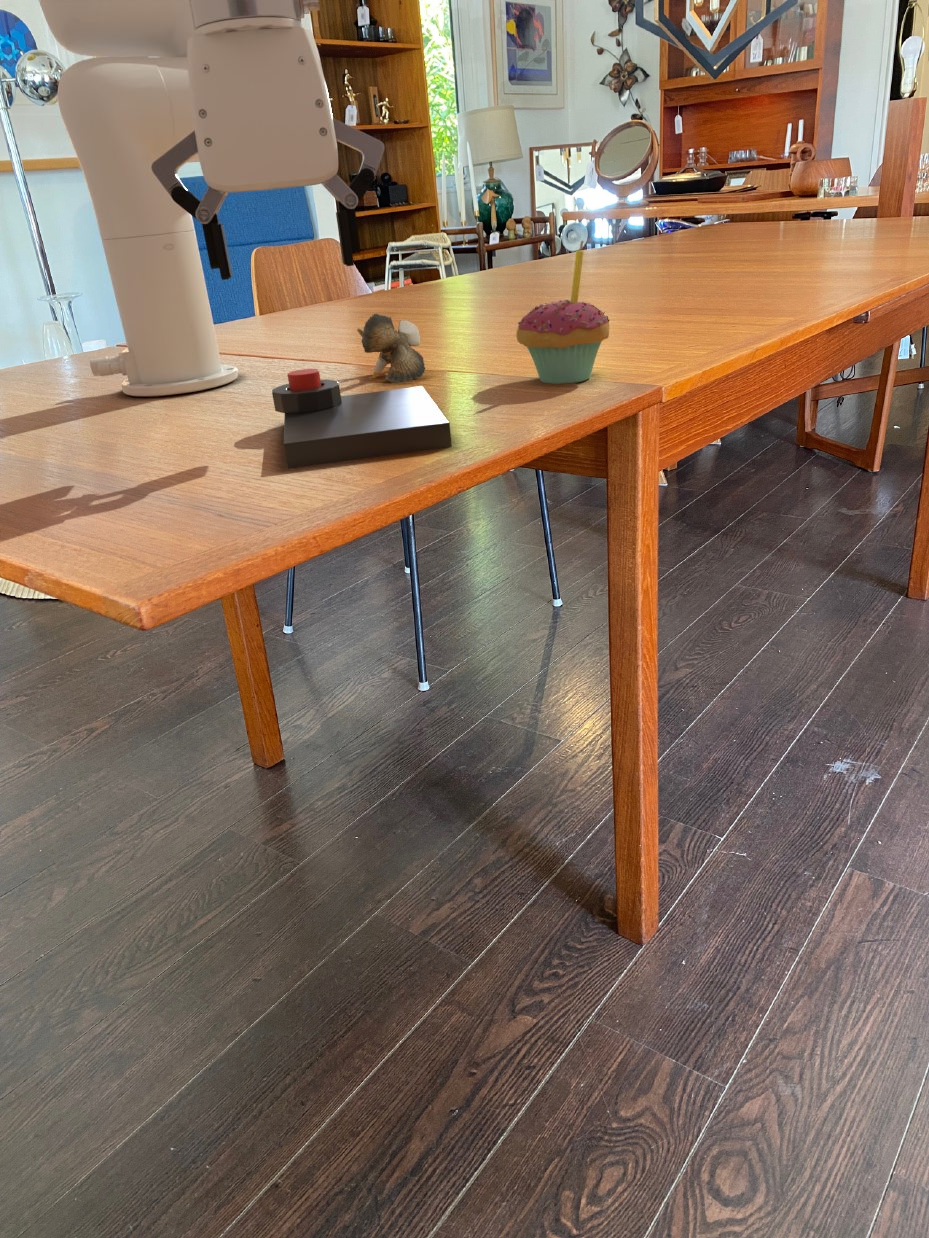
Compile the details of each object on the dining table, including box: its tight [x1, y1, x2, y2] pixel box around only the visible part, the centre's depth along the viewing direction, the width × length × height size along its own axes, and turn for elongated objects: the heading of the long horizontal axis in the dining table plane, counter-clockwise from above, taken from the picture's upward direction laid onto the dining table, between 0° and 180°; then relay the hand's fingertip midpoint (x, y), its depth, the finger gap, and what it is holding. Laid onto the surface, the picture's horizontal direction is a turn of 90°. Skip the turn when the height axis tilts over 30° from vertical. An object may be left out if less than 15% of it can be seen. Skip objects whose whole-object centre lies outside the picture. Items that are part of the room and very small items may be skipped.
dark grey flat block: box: [271, 379, 453, 469], centre depth 72 cm, size 13×15×4 cm
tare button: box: [286, 368, 322, 391], centre depth 75 cm, size 3×3×2 cm
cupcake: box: [516, 240, 610, 385], centre depth 83 cm, size 9×8×12 cm
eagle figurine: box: [356, 313, 426, 384], centre depth 94 cm, size 8×7×9 cm
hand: (288, 271), depth 71 cm, fingers open, 9 cm apart
